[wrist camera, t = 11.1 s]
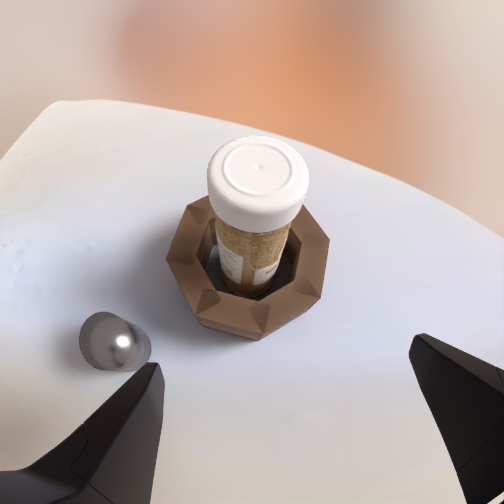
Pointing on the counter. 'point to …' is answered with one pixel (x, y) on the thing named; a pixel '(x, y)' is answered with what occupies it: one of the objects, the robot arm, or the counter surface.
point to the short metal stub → (113, 343)
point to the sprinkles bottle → (254, 208)
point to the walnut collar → (238, 308)
